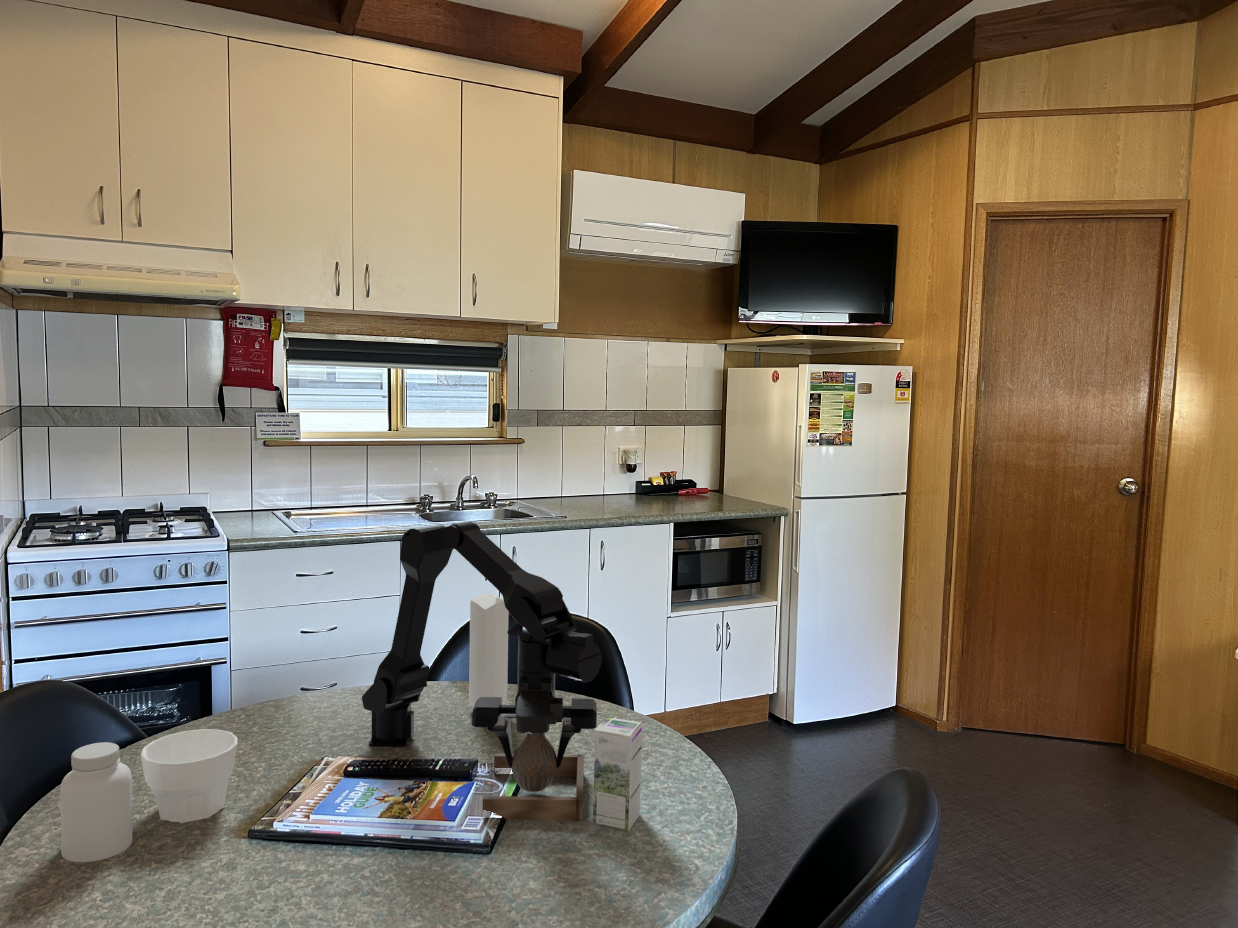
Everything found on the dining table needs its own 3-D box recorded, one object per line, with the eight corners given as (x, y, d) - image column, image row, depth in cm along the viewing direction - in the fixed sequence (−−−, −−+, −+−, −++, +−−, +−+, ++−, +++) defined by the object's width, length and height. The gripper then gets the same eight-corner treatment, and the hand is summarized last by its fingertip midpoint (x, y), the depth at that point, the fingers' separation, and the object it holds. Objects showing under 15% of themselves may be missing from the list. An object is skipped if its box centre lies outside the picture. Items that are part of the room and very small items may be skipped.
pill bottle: (82, 885, 107) (79, 768, 106) (49, 865, 111) (46, 752, 110) (145, 857, 114) (143, 746, 113) (112, 839, 118) (110, 732, 117)
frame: (482, 822, 125) (482, 798, 125) (494, 774, 141) (494, 753, 141) (582, 823, 126) (582, 800, 125) (583, 775, 142) (583, 754, 141)
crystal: (463, 722, 163) (465, 597, 161) (469, 709, 170) (470, 588, 168) (503, 723, 163) (505, 598, 161) (507, 709, 170) (509, 589, 168)
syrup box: (641, 814, 129) (643, 720, 128) (628, 833, 123) (631, 734, 122) (605, 807, 131) (607, 714, 129) (591, 825, 125) (593, 728, 124)
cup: (183, 795, 131) (182, 724, 130) (256, 805, 129) (256, 733, 128) (120, 835, 119) (119, 758, 118) (200, 847, 116) (199, 768, 116)
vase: (554, 797, 130) (555, 740, 129) (508, 795, 130) (509, 738, 129) (558, 776, 137) (559, 723, 136) (514, 775, 137) (516, 721, 136)
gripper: (467, 684, 123) (465, 789, 125) (598, 686, 124) (595, 791, 125) (477, 660, 135) (476, 757, 136) (597, 662, 135) (594, 758, 137)
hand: (534, 766), depth 133 cm, fingers closed on vase, 7 cm apart
